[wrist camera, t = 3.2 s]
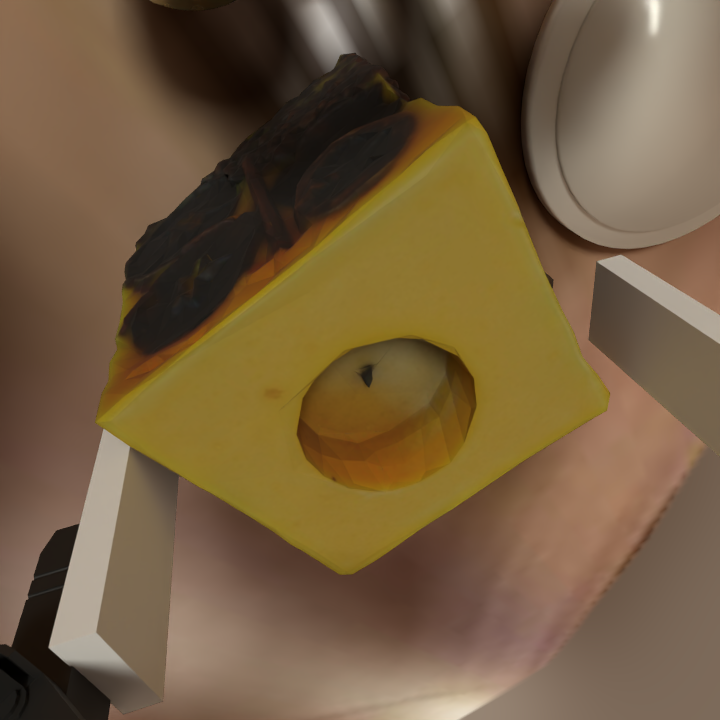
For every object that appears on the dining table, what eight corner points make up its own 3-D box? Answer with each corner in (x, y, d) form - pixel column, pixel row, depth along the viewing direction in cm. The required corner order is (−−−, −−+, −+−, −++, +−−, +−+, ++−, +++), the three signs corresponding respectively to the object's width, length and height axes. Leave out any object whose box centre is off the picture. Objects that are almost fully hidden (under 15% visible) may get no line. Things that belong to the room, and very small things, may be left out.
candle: (350, 43, 17) (482, 86, 9) (480, 261, 23) (630, 402, 15) (124, 238, 19) (68, 419, 11) (300, 395, 25) (348, 585, 17)
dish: (518, 273, 24) (532, 285, 23) (523, -105, 16) (544, -112, 15) (771, 200, 25) (793, 209, 24) (890, -183, 17) (931, -193, 16)
